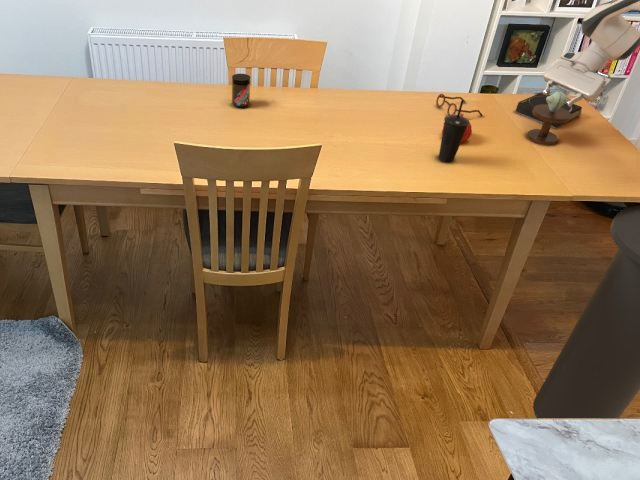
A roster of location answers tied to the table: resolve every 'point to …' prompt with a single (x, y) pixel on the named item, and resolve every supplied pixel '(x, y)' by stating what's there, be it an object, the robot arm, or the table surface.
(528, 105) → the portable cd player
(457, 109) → the glasses
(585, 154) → the table surface
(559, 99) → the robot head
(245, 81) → the supplement container
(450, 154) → the drinking cup
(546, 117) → the brown round base
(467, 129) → the red tomato
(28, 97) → the table surface
